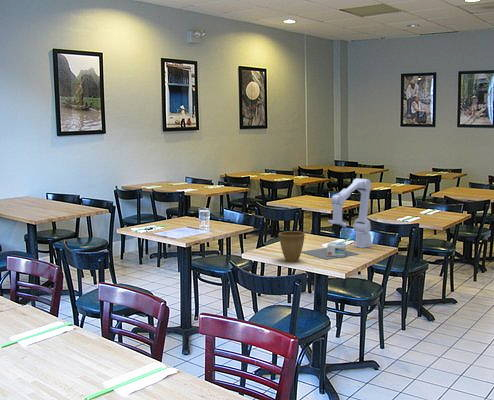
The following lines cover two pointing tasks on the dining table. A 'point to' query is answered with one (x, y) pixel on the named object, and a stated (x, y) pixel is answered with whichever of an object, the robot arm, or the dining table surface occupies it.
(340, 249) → the light bulb box
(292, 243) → the plant pot
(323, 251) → the mat
